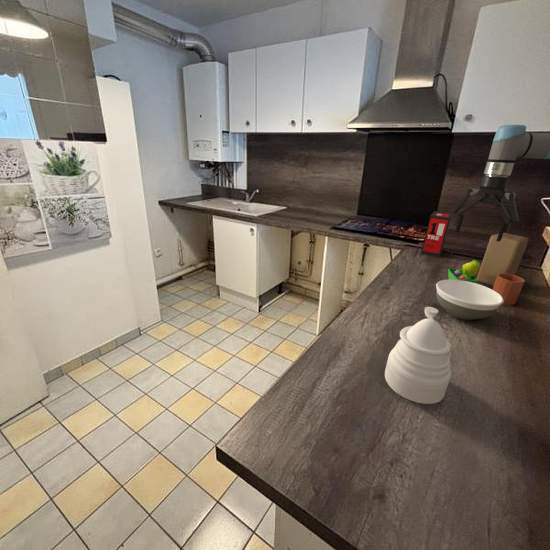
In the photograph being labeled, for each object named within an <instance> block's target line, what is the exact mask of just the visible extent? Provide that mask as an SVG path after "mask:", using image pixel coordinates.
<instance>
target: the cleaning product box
mask: <svg viewBox="0 0 550 550" xmlns="http://www.w3.org/2000/svg"><path fill="white" fill-rule="evenodd" d="M453 215H454V213H453V212H443V211H437V210H434V211H433V212H432V213H431V215H430V216H429V219H428V224H427V228H426V232H425V236H424V240H423V244H422V248H421V253H420V254H421V255H427V256H432V257H437V258H440V257H441V255H442V253H443V250H444V246H445V243H446V240H447V235H448V233H449V230H450V226H451V221H452V218H453Z"/></svg>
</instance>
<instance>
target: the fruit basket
mask: <svg viewBox="0 0 550 550" xmlns="http://www.w3.org/2000/svg"><path fill="white" fill-rule="evenodd" d="M480 263H481V261H479V260H477V259H473V260H471V261H470V262H466V263H464V264H462V265H461V266H462V267H461V268H447V272H448V274H447V276H448V277H447V278H448V280H462V281H468V282H472V283H476V284H478V282H479V281H478V280H477V277H476V275H478V273H479V270H480V267H481V264H480Z"/></svg>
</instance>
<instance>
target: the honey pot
mask: <svg viewBox="0 0 550 550" xmlns="http://www.w3.org/2000/svg"><path fill="white" fill-rule="evenodd" d="M437 315H439V310H438V309H437V308H435V307H434V306H433V307H432V306H425V307H424V316H425V317H426V318H423V319H421V320H419V321H418V322H416V323H415V324H414V325H409V326H406V327H403V328H402V329H401V330H400V331H399V337H400V339H399V340H398V341H397V343H396V344H395V345H394V347H393V348H391V351H390V352H389V354H388V357H387V361H386V366H385V369H384V379H385V381H386V383H387V385H388V386H389V388H391V389H392V391H394V392H395V393H396V394H398V395H399V396H401V397H403V398H405V399H406V400H408V401H412V402H414V403H418V404H423V405H432V404H433V405H434V404H437V403H440V402H441V401H442V400H443V399H444V398H445V395H446V392H447V390H448V387H449V383H450V382H451V379H452V370H451V358H450V355H449V353H450V351H451V350H452V345H451V342H450V341H449V339H448V338H447V337H446V335H445V333H444V330H443V328H442V326H441V325H440V323H439V322H438V321H437V320H435V319H434V318H435V317H437Z"/></svg>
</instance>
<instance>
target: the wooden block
mask: <svg viewBox="0 0 550 550" xmlns="http://www.w3.org/2000/svg"><path fill="white" fill-rule="evenodd" d="M498 234H499V232H498V233H495V234H492V235H490V237H489V240H488V243H487V245H486V250H485V252H484V256H483V259H482V260H481V264H480V268H479V269H478V272H477V276H476V279H477V280H478V281H477V282H480V283H484V284H486V285H489V286H492V287H493V286H494V283H495V280H496V277H497V275H498V274H500V273H505V274H511V275H515V276H516V274H517V272H518V269H519V266H520V264H521V262H522V259H523V256H524V253H525V251H526V249H527V246H528V243H529V237H526V236H521V235H517V234H511V233H508V232H506V233H505V232H504V233H503V236H502V239H501V241H499V242H498V241H496V240H497V237H498Z"/></svg>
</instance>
